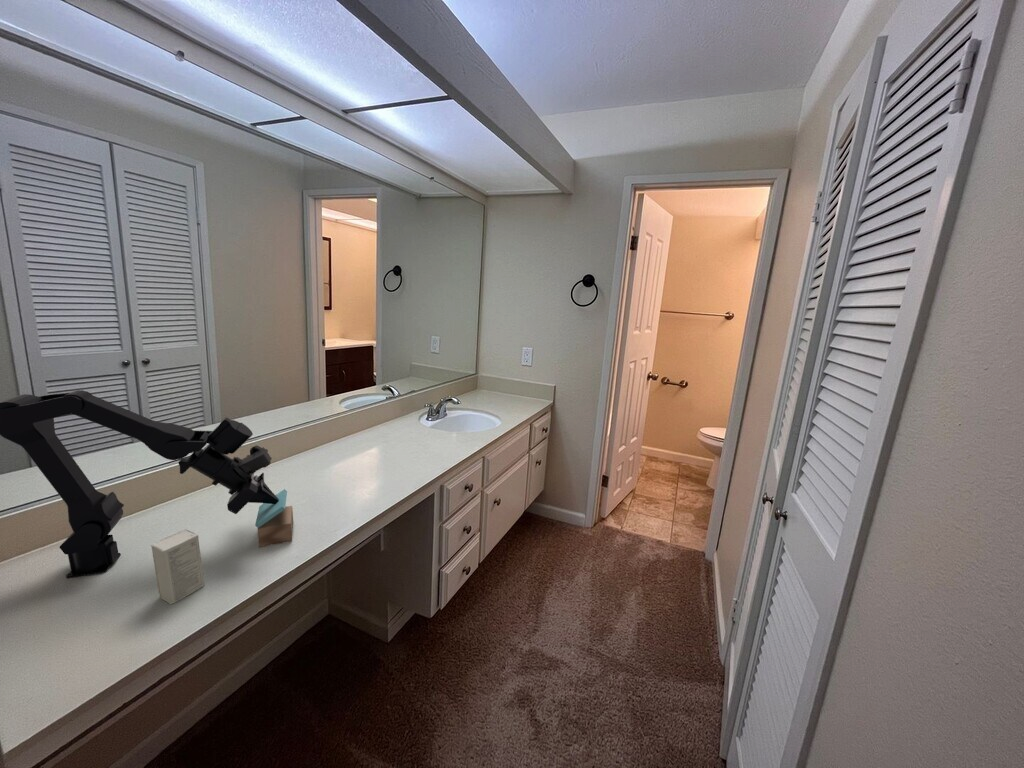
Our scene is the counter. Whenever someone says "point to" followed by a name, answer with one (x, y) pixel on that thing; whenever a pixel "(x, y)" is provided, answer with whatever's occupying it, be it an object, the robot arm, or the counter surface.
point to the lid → (271, 509)
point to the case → (277, 529)
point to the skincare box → (178, 565)
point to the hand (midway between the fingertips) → (277, 501)
